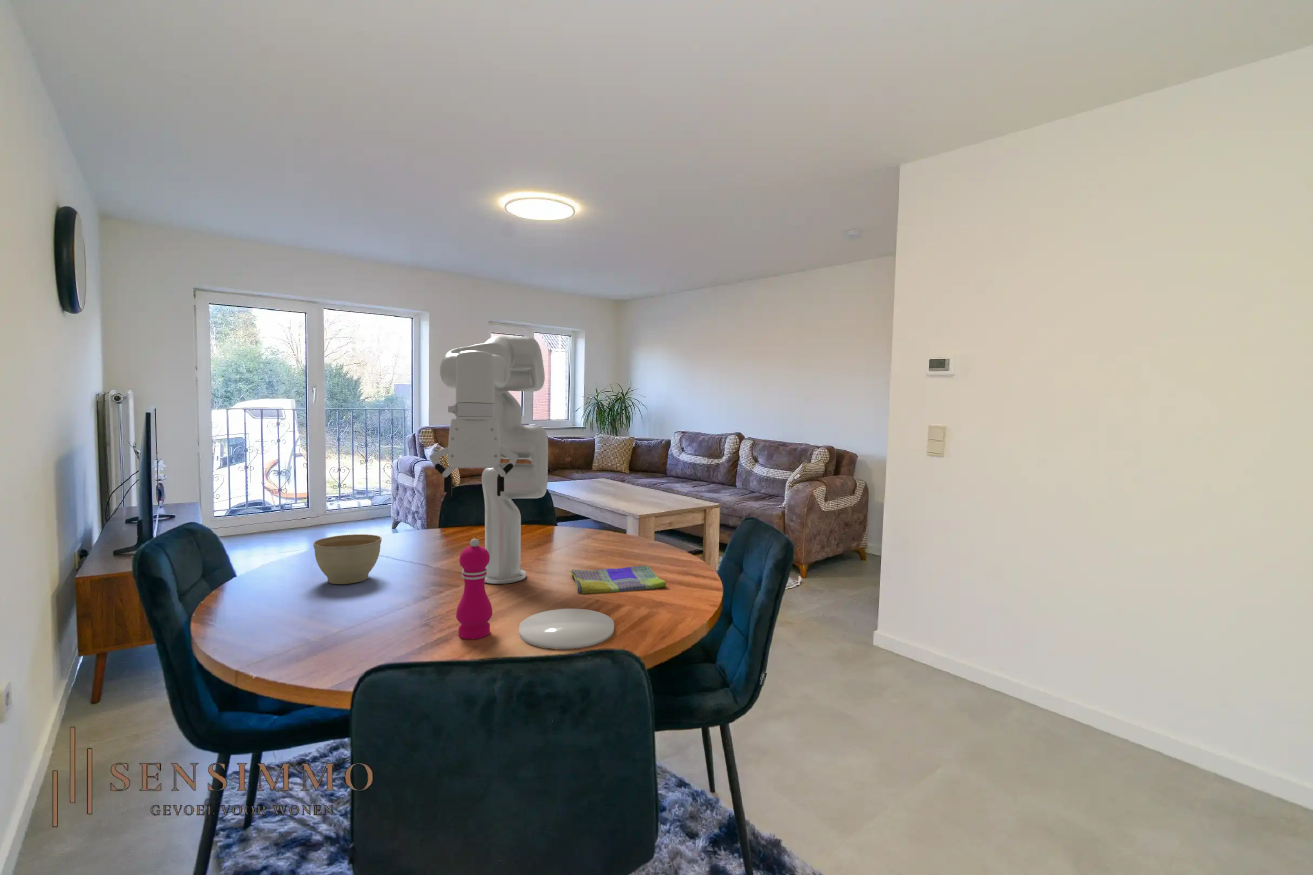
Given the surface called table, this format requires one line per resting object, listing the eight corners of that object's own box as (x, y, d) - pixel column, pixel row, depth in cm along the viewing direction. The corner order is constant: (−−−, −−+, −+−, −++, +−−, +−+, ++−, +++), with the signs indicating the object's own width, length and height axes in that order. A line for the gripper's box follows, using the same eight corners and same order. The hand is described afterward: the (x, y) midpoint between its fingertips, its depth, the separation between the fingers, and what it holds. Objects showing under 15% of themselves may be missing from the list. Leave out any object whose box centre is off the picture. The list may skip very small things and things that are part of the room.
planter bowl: (394, 578, 161) (394, 538, 160) (335, 593, 147) (334, 550, 147) (360, 568, 170) (360, 530, 169) (301, 581, 156) (301, 541, 155)
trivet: (517, 617, 133) (517, 611, 133) (605, 610, 138) (605, 605, 138) (520, 653, 114) (520, 647, 114) (622, 644, 119) (622, 638, 119)
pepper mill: (459, 642, 118) (459, 544, 117) (453, 630, 124) (453, 536, 123) (495, 637, 121) (496, 540, 120) (488, 625, 128) (488, 533, 127)
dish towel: (667, 591, 156) (667, 580, 156) (575, 596, 150) (575, 585, 150) (652, 573, 173) (652, 563, 172) (568, 577, 167) (568, 567, 167)
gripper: (427, 411, 115) (427, 499, 115) (519, 413, 119) (518, 497, 120) (431, 411, 122) (431, 494, 122) (518, 413, 126) (517, 492, 127)
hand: (474, 495), depth 121 cm, fingers open, 9 cm apart
